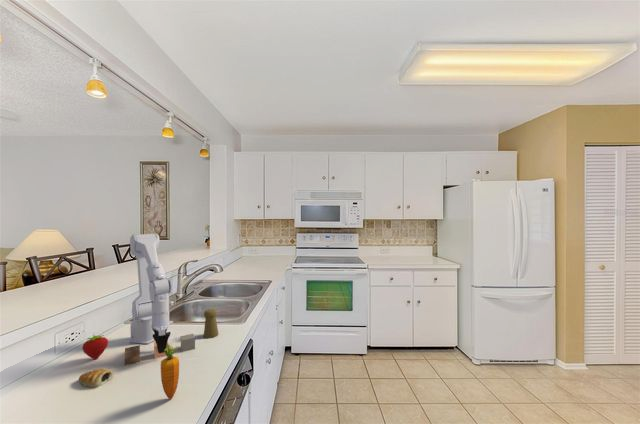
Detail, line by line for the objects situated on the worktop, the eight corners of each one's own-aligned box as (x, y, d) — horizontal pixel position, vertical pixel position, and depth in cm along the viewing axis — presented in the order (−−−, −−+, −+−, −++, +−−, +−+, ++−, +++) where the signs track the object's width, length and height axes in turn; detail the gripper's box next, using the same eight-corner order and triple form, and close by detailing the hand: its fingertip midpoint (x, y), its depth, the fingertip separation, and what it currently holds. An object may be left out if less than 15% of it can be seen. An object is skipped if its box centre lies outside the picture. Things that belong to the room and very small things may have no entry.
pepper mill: (220, 332, 129) (220, 307, 129) (214, 338, 123) (214, 312, 123) (207, 332, 130) (207, 307, 130) (200, 338, 124) (200, 311, 124)
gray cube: (182, 352, 111) (181, 340, 111) (180, 347, 115) (180, 336, 115) (195, 349, 114) (194, 337, 114) (193, 344, 118) (193, 333, 118)
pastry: (71, 386, 90) (71, 374, 91) (92, 375, 97) (92, 363, 97) (97, 389, 89) (97, 376, 89) (116, 377, 95) (116, 365, 95)
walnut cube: (124, 366, 102) (124, 353, 102) (125, 360, 106) (125, 348, 106) (140, 362, 104) (139, 349, 104) (140, 357, 108) (139, 345, 108)
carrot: (165, 394, 85) (164, 342, 85) (183, 392, 86) (182, 341, 86) (157, 405, 80) (156, 350, 80) (176, 404, 81) (175, 348, 81)
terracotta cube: (154, 358, 107) (154, 346, 107) (154, 354, 111) (154, 341, 111) (168, 355, 109) (168, 343, 109) (167, 350, 113) (167, 339, 113)
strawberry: (108, 359, 107) (108, 331, 107) (81, 366, 102) (81, 337, 102) (108, 353, 112) (108, 326, 112) (83, 359, 107) (82, 331, 107)
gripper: (174, 315, 106) (175, 353, 106) (170, 305, 118) (171, 339, 118) (151, 319, 102) (152, 358, 102) (150, 308, 114) (151, 343, 114)
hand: (161, 348), depth 110 cm, fingers open, 7 cm apart
